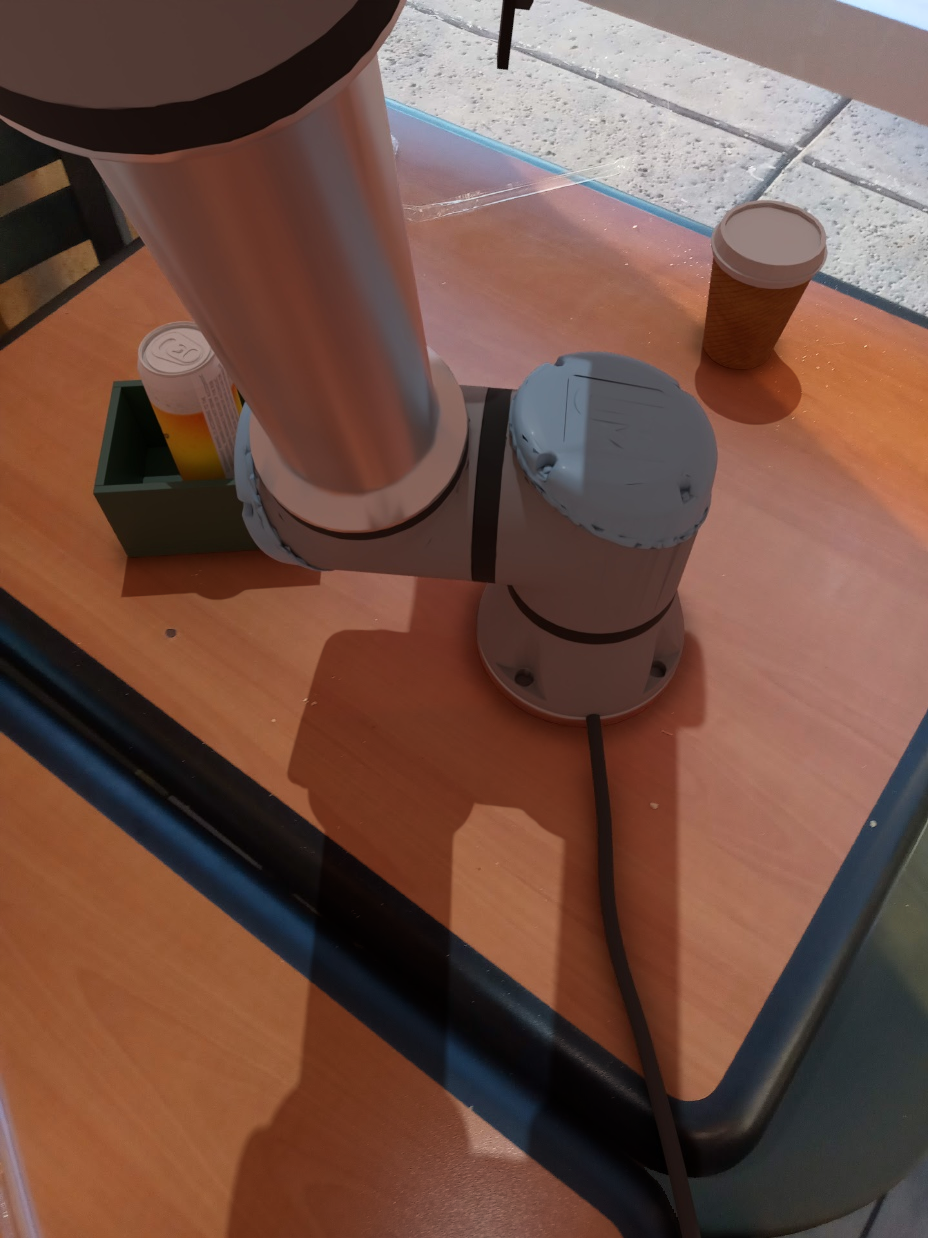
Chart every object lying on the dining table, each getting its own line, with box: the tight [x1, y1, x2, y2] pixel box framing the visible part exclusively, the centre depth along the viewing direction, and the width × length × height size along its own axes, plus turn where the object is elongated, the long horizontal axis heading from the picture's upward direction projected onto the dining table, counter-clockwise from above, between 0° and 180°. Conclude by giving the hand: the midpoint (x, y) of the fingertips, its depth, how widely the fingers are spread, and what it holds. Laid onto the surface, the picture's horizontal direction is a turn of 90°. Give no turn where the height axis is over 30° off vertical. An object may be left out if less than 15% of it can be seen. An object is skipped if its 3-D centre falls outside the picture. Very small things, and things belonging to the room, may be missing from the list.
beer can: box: [136, 320, 242, 481], centre depth 68 cm, size 6×6×15 cm
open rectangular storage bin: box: [92, 379, 262, 558], centre depth 72 cm, size 11×15×8 cm
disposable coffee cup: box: [702, 199, 829, 370], centre depth 79 cm, size 10×10×12 cm
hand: (402, 51), depth 61 cm, fingers open, 13 cm apart
